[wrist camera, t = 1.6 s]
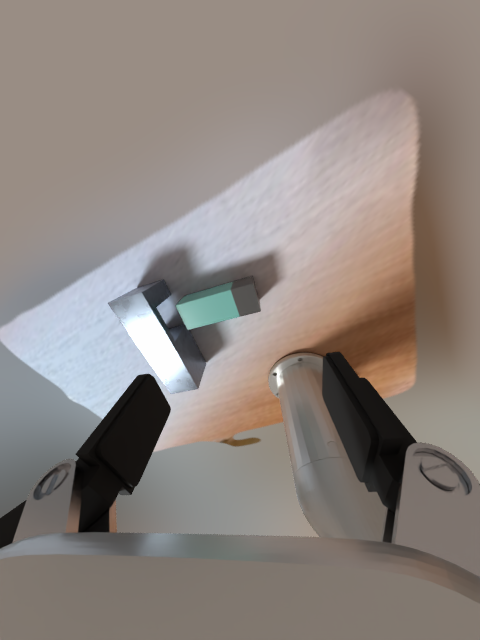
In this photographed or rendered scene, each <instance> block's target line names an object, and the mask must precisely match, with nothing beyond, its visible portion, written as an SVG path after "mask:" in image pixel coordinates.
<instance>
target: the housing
mask: <svg viewBox="0 0 480 640" xmlns="http://www.w3.org/2000/svg"><path fill="white" fill-rule="evenodd" d="M170 295H171V293H170V291H169V289H168V287H167V285H166V283H165V281H164V280H161V281H157V282H154V283H151V284H148V285H145V286H142V287H139V288H136V289H134V290H132V291H130V292H128V293H126V294H124V295H122V296H120V297H118V298H116V299H115V300H113V301H111V302H109V303H108V304H109V306H110V307H111V309H112V310H113V312H114V313H115V315H116V316H117V317H118V319H119V320H120V322H121V323H122V325H123V326H124V327H125V329H126V330H127V332H128V333H129V335H130V336H131V337H132V339H133V340H134V342H135V343H136V345H137V346H138V348H139V349H140V350H141V352H142V353H143V355H144V356H145V358H146V359H147V360H148V362H149V363H150V365H151V366H152V368H153V369H154V370H155V372H156V373H157V375H158V376H159V378H160V379H161V381H162V382H163V383H164V385H165V386H166V388H167V389H168V391H169V392H170V393H171V394H174V393H179V392H184V391H190V390H195V389H198V388H199V385H200V381H201V378H202V375H203V372H204V369H205V366H206V362H205V360H204V358H203V356H202V354H201V352H200V350H199V348H198V346H197V344H196V342H195V341H194V339H193V337H192V335H191V333H190V331H189V330H187V328H186V326H185V325H182V326H178V327H174V328H170V329H168V327H167V326H166V324H165V322H164V320H163V319H162V317H161V315H160V313H159V312H158V310H157V308H156V307H157V306H158V305H160V304H161V303H162V302H163V301H164V300H166V299H167V298H168V297H169V296H170Z"/></svg>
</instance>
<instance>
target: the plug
mask: <svg viewBox="0 0 480 640" xmlns="http://www.w3.org/2000/svg"><path fill="white" fill-rule="evenodd" d="M176 308H177V310H178V312H179V314H180V316H181V318H182V320H183V322H184V324H185V326H186V328H187V330H189V329H193V328H197V327H201V326H205V325H209V324H213V323H217V322H221V321H225V320H229V319H233V318H237V317H240V316H244V315H248V314H252V313H256V312H260V311H261V309H260V302H259V297H258V294H257V290H256V286H255V283H254V279H253V276H250V277H247V278H244V279H240V280H237V281H233V282H230V283H227V284H223V285H220V286H216V287H213V288H210V289H206V290H203V291H200V292H196V293H193V294H189V295H186V296H184V297H183V298H182V299H181V300H180V301H179V302H178V303H177V305H176Z"/></svg>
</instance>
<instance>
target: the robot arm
mask: <svg viewBox="0 0 480 640" xmlns="http://www.w3.org/2000/svg"><path fill="white" fill-rule="evenodd" d="M268 382H269V387H270V390H271V391H272V393H273V394H274V395H275V396H276V397H278V398H279V399H280V405H281V410H282V416H283V421H284V426H285V432H286V438H287V444H288V449H289V455H290V460H291V466H292V471H293V477H294V483H295V488H296V493H297V498H298V501H299V504H300V507H301V509H302V511H303V514H304V515H305V517H306V519H307V521H308V522H309V524H310V525H311V526H312V528H313V529H314V530H315V531H316V533H317V534H318V535H319V537H297V536H296V537H295V536H294V537H293V536H258V535H256V536H255V535H218V534H169V533H168V534H167V533H117V529H116V528H117V526H116V501H115V500H116V497H117V495H118V493H119V494H120V495H131V494H132V492H133V490H134V488H135V486H137V485H138V483H139V481H140V479H141V477H142V475H143V472H144V470H145V468H146V466H147V464H148V461H149V459H150V457H151V455H152V452H153V450H154V448H155V446H156V443H157V441H158V439H159V437H160V434H161V432H162V430H163V428H164V425H165V423H166V421H167V419H168V416H169V414H170V410H171V409H170V405H169V404H168V402H167V400H166V398H165V396H164V395H163V393H162V391H161V389H160V387H159V385H158V384H157V382H156V380H155V378H154V377H153V376H151V375H150V374H143V375H138V376H137V377H136V378H135V379H134V381H133V382H132V383H131V384H130V386H129V387H128V388H127V390H126V391H125V392H124V393H123V395H122V396H121V397H120V398H119V400H118V401H117V402H116V404H115V405H114V406H113V407H112V409H111V410H110V411H109V412H108V414H107V415H106V416H105V417H104V419H103V420H102V421H101V423H100V424H99V425H98V426H97V428H96V429H95V430H94V431H93V433H92V434H91V435H90V437H89V438H88V439H87V440H86V442H85V443H84V444H83V445H82V447H81V448H80V449H79V450H78V452H77V453H76V455H77V456H78V457H79V459H78V460H77V461H75V460H74V459H66V460H63V461H61V462H59V463H58V464H56V465H55V466H53V467H52V468H50V469H49V470H48V471H47V472H46V473H45V474H44V475H43V476H42V477H41V478H40V479H39V480H38V481H37V482H36V484H35V485H34V486H33V488H32V489H31V491H30V493H29V495H28V498H27V500H26V501H24V502H23V503H21V504H20V505H19V506H17V507H16V508H14V509H13V510H11V511H10V512H9V513H7V514H6V515H4V516H3V517H2V518H0V640H480V484H479V482H478V480H477V479H476V478H475V476H474V474H473V473H472V471H470V469H469V468H468V467H467V466H466V465H465V464H463V463H462V461H460V460H459V459H457V458H456V457H455V456H453V455H452V454H451V453H449V452H447V451H445V450H443V449H442V448H440V447H437V446H434V445H431V444H426V443H417V442H416V440H415V439H414V438H413V437H412V436H411V434H410V433H409V432H408V430H407V429H406V428H405V427H404V425H403V424H402V423H401V422H400V420H399V419H398V418H397V416H396V415H395V414H394V413H393V411H392V410H391V409H390V408H389V406H388V405H387V404H386V403H385V401H384V400H383V399H382V397H381V396H380V395H379V394H378V392H377V391H376V390H375V389H374V387H373V386H372V385H371V384H370V382H369V381H368V380H367V379H365V378H359V377H358V375H357V374H356V373H355V371H354V370H353V369H352V367H351V366H350V365H349V363H348V362H347V361H346V359H345V358H344V356H343V355H342V354H341V353H340V352H333V353H327V354H326V356H324V357H322V356H320V355H317V354H314V353H296V354H292V355H289V356H286V357H284V358H282V359H281V360H279V361H278V362H277V363H276V364H275V365H274V366H273V367H272V369H271V370H270V373H269V376H268Z"/></svg>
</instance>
